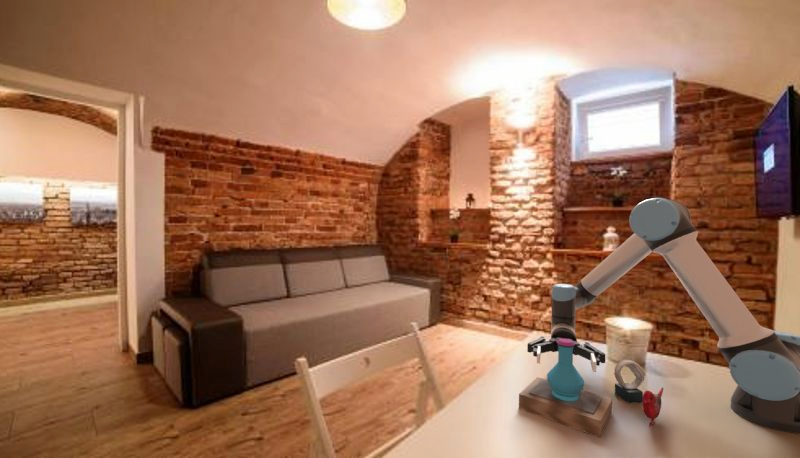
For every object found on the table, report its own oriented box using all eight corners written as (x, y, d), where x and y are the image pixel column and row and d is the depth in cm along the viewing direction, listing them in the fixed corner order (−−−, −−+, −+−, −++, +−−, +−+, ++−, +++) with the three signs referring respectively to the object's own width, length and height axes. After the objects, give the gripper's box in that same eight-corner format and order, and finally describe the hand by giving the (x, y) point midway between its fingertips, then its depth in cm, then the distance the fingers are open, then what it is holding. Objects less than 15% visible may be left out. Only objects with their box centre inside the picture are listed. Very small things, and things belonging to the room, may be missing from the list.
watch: (648, 402, 101) (649, 364, 101) (622, 403, 100) (623, 365, 100) (633, 392, 107) (634, 356, 107) (609, 393, 106) (609, 357, 106)
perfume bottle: (539, 389, 99) (540, 336, 99) (566, 385, 102) (566, 333, 102) (563, 406, 91) (564, 348, 90) (592, 400, 93) (592, 344, 93)
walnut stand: (611, 413, 95) (612, 397, 95) (600, 437, 85) (600, 419, 84) (537, 390, 108) (537, 376, 108) (518, 408, 98) (519, 392, 98)
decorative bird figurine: (637, 432, 87) (637, 392, 87) (656, 407, 99) (657, 371, 98) (651, 437, 85) (652, 396, 84) (669, 411, 96) (669, 375, 96)
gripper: (608, 356, 109) (619, 385, 89) (522, 344, 119) (516, 368, 99) (608, 332, 109) (620, 356, 89) (522, 322, 119) (516, 342, 99)
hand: (565, 362), depth 94 cm, fingers open, 13 cm apart
